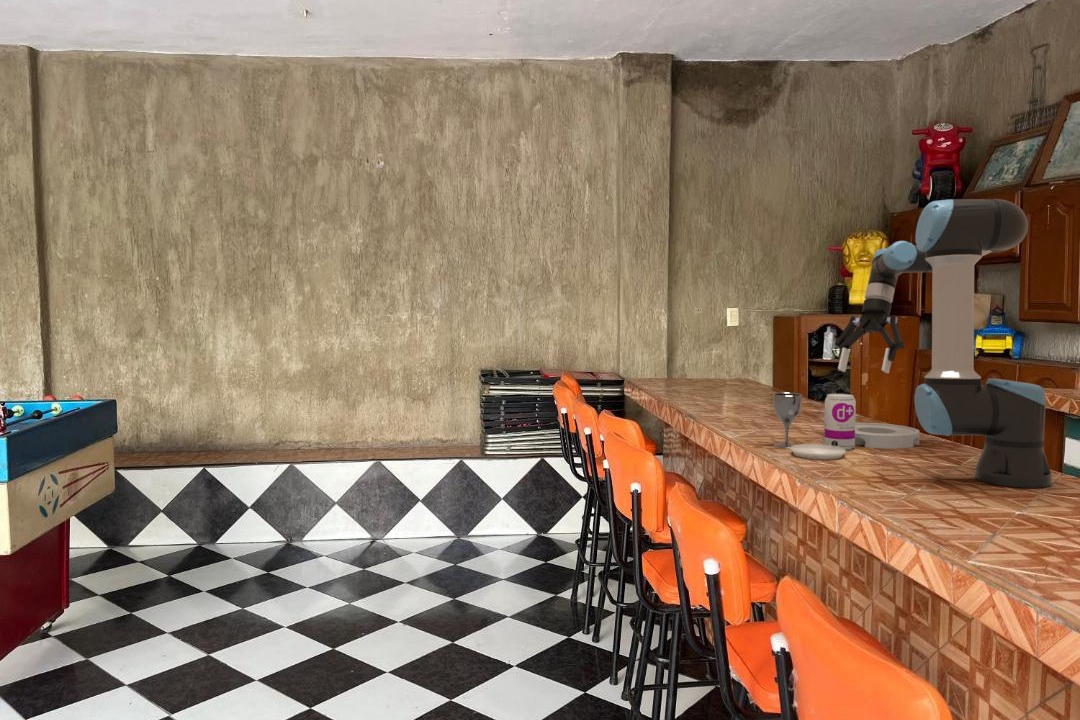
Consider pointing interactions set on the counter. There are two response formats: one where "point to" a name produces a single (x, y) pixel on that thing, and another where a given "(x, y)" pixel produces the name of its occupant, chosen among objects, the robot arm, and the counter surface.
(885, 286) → the robot arm
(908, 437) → the ashtray
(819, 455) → the dish
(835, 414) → the supplement can
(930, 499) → the counter surface
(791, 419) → the wine glass
